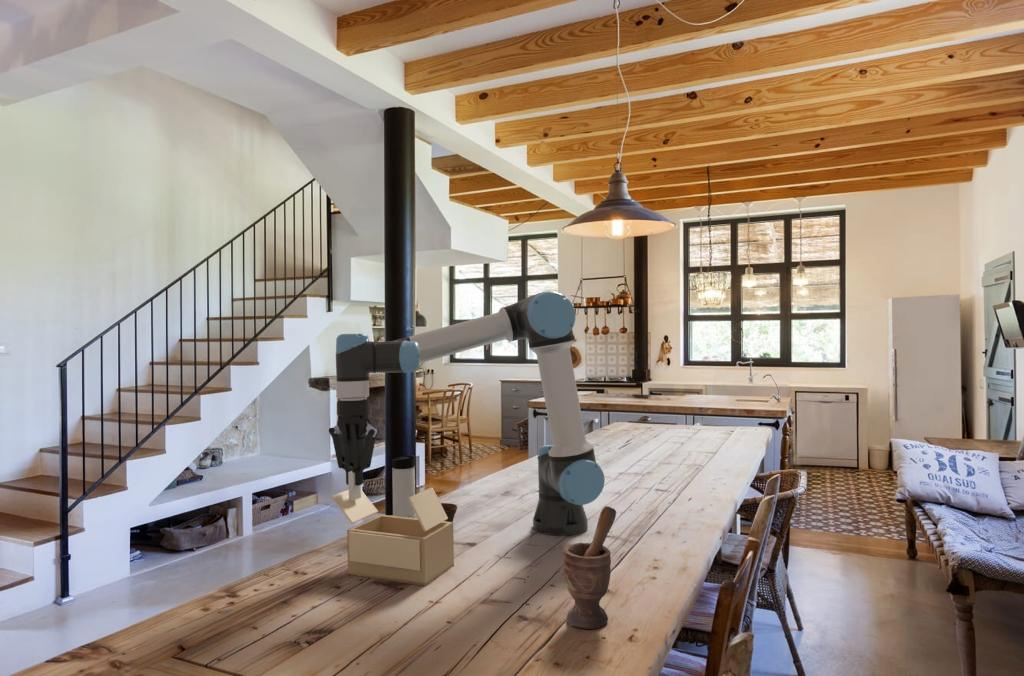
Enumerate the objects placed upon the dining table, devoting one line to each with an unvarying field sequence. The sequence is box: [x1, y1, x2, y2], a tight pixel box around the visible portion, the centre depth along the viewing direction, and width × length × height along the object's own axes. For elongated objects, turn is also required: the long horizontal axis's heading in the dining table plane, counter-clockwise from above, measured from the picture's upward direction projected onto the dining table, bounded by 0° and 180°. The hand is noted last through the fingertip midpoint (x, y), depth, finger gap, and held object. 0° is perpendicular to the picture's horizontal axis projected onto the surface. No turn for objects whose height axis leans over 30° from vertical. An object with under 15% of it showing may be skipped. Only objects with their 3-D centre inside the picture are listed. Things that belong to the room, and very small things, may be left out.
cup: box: [440, 502, 458, 523], centre depth 162 cm, size 9×9×10 cm
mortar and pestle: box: [562, 505, 617, 630], centre depth 117 cm, size 12×9×20 cm
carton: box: [346, 514, 455, 587], centre depth 143 cm, size 20×14×10 cm
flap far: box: [330, 489, 379, 525], centre depth 148 cm, size 10×1×8 cm
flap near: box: [408, 486, 448, 532], centre depth 140 cm, size 10×1×8 cm
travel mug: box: [391, 454, 416, 518], centre depth 177 cm, size 6×7×20 cm
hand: (354, 498), depth 148 cm, fingers closed
